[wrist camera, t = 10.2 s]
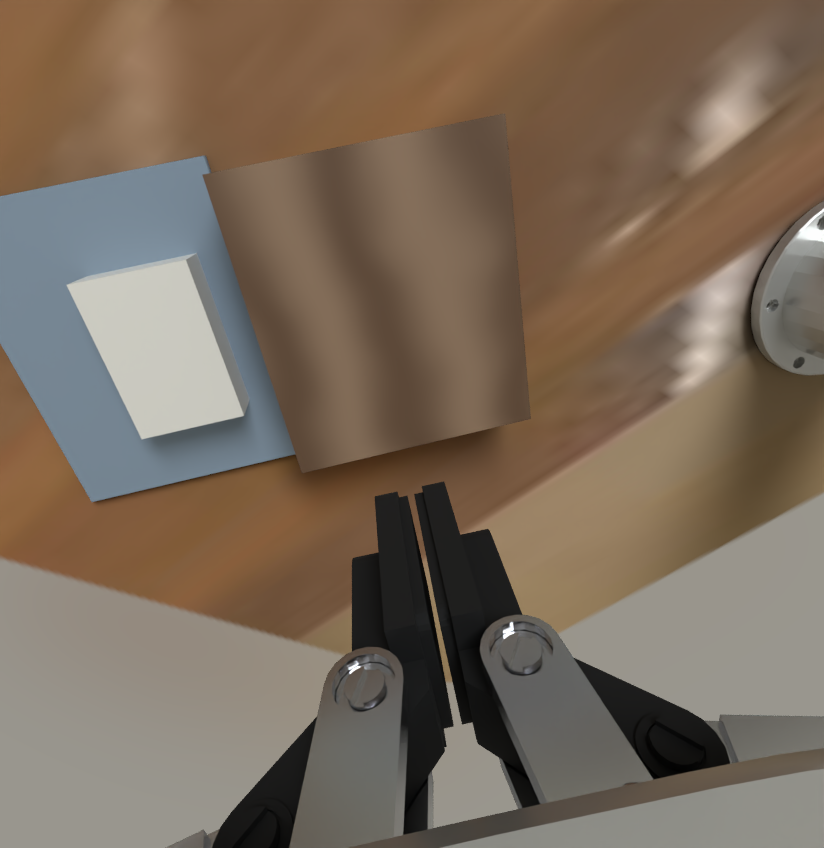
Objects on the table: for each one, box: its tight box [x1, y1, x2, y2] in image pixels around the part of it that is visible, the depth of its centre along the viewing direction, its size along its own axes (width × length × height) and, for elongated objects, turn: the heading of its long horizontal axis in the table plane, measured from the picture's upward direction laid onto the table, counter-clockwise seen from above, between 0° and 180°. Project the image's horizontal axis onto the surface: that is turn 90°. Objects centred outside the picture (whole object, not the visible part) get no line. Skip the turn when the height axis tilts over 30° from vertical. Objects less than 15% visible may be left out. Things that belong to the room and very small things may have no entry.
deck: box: [202, 114, 531, 473], centre depth 29 cm, size 14×16×5 cm
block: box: [67, 253, 250, 439], centre depth 29 cm, size 6×9×2 cm, turn 10°
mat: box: [0, 156, 295, 502], centre depth 30 cm, size 14×18×1 cm
